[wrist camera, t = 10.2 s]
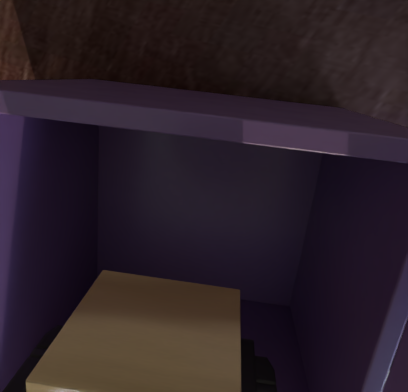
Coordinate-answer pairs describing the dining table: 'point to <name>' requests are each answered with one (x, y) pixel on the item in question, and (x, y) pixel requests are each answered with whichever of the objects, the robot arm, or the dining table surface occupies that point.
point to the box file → (208, 218)
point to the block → (146, 339)
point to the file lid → (399, 367)
